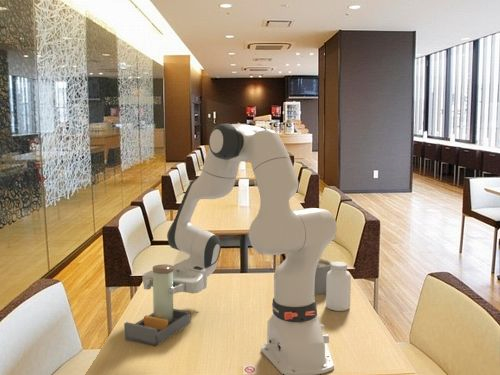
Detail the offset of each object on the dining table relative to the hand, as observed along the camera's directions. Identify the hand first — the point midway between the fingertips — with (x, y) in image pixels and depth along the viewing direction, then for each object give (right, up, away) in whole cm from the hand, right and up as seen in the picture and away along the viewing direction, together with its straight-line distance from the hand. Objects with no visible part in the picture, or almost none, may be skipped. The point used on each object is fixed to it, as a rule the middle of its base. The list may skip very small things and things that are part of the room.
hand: (158, 289), depth 155 cm
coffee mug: (+54, -7, +33) cm, 64 cm away
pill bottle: (+57, -9, +17) cm, 60 cm away
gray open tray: (0, -13, +1) cm, 13 cm away
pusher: (-1, -12, 0) cm, 12 cm away
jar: (+1, -11, +3) cm, 12 cm away
